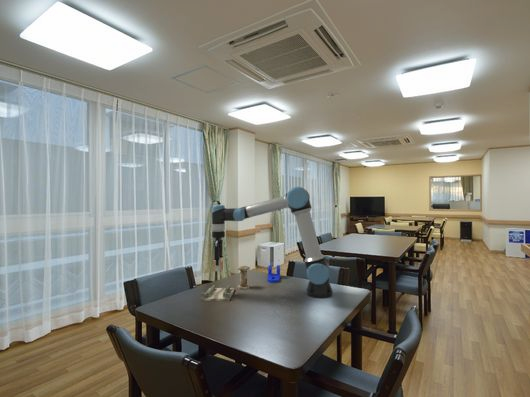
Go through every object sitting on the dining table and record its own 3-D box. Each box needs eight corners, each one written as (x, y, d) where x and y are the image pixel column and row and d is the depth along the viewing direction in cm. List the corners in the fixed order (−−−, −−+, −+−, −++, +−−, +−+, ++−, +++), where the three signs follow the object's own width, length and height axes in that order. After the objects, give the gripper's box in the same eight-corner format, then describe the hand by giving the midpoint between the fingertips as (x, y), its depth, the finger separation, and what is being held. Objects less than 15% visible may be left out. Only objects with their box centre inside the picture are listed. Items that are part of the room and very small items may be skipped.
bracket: (269, 276, 212) (268, 264, 212) (280, 276, 211) (280, 264, 211) (266, 283, 194) (266, 270, 194) (278, 283, 193) (278, 270, 194)
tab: (223, 269, 172) (223, 257, 172) (221, 271, 167) (221, 259, 167) (214, 269, 173) (215, 257, 173) (213, 271, 168) (213, 259, 168)
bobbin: (250, 285, 188) (250, 266, 188) (249, 289, 180) (249, 268, 180) (238, 285, 188) (238, 266, 188) (236, 289, 180) (236, 268, 180)
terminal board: (234, 289, 179) (234, 284, 179) (229, 300, 159) (229, 294, 159) (209, 289, 180) (209, 283, 180) (201, 300, 160) (201, 294, 160)
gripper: (215, 229, 180) (215, 266, 179) (208, 232, 162) (208, 273, 161) (227, 229, 179) (227, 266, 179) (221, 232, 161) (221, 273, 161)
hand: (218, 269), depth 170 cm, fingers closed on tab, 5 cm apart
